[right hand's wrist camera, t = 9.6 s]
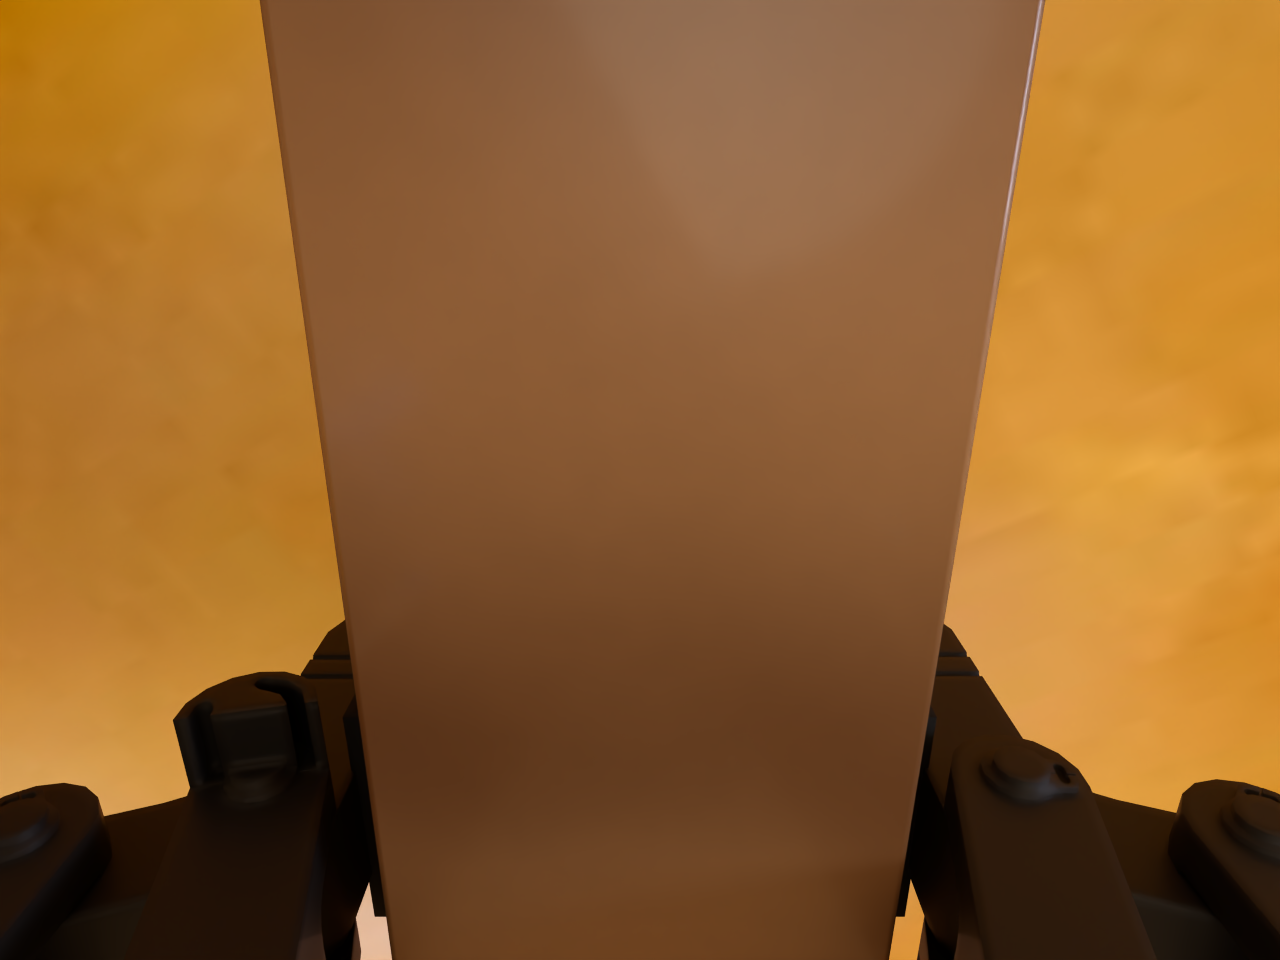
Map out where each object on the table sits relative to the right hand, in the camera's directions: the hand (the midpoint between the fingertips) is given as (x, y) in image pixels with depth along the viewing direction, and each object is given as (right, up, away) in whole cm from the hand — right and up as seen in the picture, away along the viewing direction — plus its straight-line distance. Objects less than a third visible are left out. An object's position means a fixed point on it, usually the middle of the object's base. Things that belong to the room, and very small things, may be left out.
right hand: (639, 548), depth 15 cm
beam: (0, +31, -11) cm, 33 cm away
